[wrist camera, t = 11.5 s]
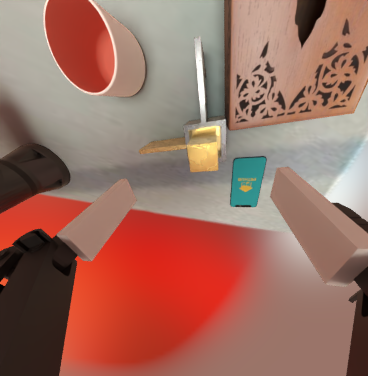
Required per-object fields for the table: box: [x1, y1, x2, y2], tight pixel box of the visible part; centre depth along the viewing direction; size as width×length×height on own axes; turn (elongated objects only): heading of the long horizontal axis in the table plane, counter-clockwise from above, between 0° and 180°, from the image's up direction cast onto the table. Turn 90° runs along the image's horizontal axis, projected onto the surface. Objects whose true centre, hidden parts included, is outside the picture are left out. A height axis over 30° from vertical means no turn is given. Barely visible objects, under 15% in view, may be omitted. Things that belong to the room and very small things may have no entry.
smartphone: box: [230, 156, 266, 207], centre depth 34 cm, size 7×1×15 cm
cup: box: [44, 0, 145, 97], centre depth 21 cm, size 10×10×10 cm
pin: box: [187, 128, 218, 172], centre depth 23 cm, size 4×4×11 cm
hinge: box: [139, 36, 226, 162], centre depth 25 cm, size 17×17×7 cm
